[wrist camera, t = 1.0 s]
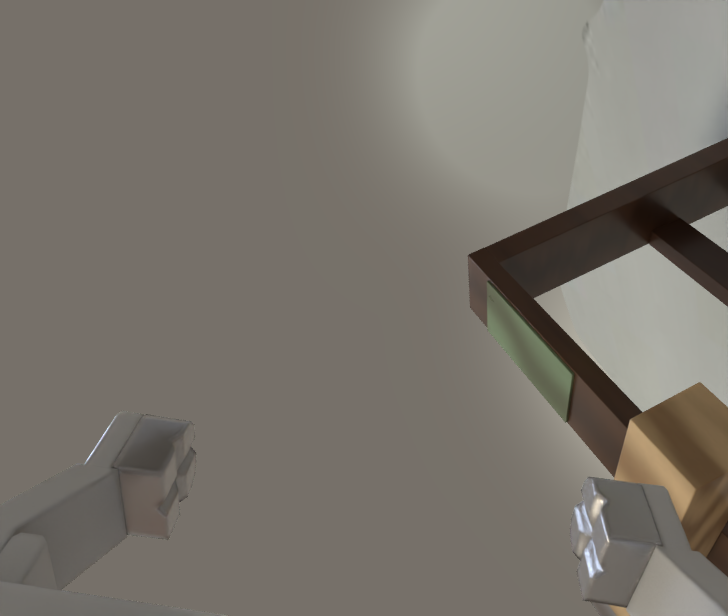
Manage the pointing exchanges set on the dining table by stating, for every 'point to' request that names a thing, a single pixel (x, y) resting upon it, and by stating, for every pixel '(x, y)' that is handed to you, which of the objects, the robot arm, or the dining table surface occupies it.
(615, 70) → the dining table surface
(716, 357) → the dining table surface
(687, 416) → the light wood square bar
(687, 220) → the dark brown wooden frame
